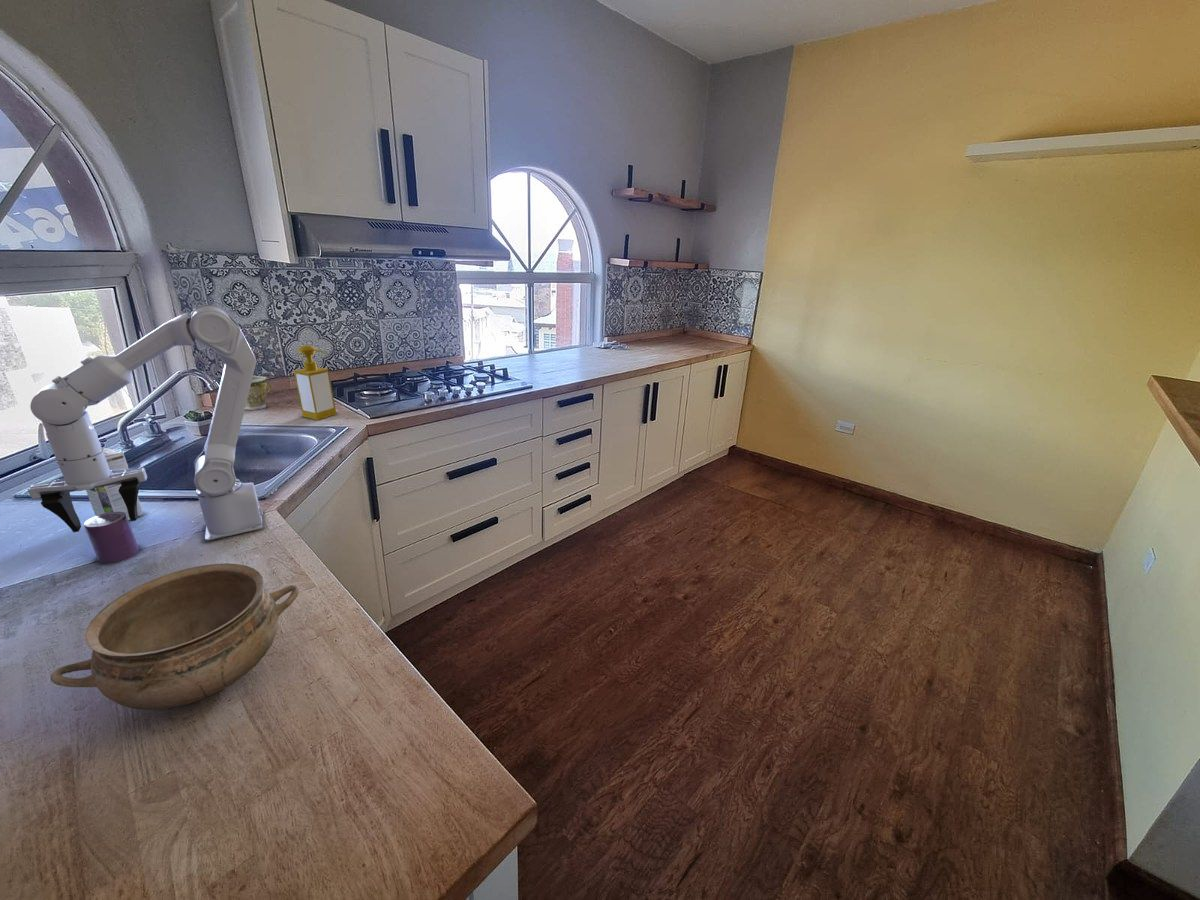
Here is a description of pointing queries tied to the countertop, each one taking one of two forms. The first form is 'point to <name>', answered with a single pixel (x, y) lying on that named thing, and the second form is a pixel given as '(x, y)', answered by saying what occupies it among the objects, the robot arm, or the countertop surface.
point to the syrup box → (111, 489)
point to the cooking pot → (180, 637)
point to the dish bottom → (117, 553)
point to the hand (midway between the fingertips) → (106, 523)
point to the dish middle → (113, 541)
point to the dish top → (107, 525)
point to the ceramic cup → (257, 393)
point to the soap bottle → (314, 387)
